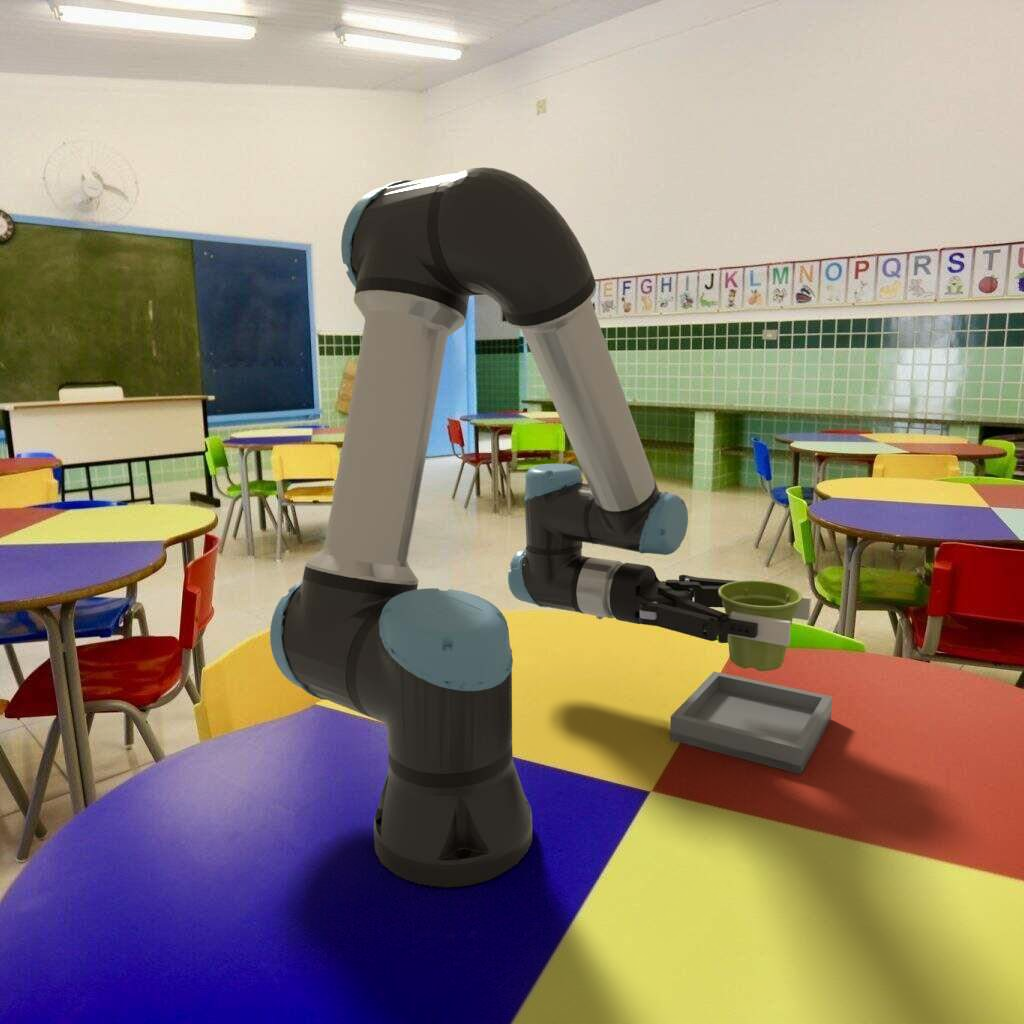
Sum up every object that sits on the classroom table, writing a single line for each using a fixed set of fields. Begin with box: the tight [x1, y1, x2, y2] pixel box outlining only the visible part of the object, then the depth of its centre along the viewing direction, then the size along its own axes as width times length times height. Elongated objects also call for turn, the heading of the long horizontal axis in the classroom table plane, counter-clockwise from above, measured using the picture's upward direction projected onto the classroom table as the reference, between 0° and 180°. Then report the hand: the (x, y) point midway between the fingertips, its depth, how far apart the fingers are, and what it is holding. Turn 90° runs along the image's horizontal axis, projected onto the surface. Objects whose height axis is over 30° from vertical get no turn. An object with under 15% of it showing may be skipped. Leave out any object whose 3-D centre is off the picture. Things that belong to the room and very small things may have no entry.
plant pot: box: [718, 579, 804, 672], centre depth 95 cm, size 9×9×9 cm
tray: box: [669, 671, 833, 775], centre depth 97 cm, size 15×15×3 cm
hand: (799, 620), depth 92 cm, fingers closed on plant pot, 8 cm apart
